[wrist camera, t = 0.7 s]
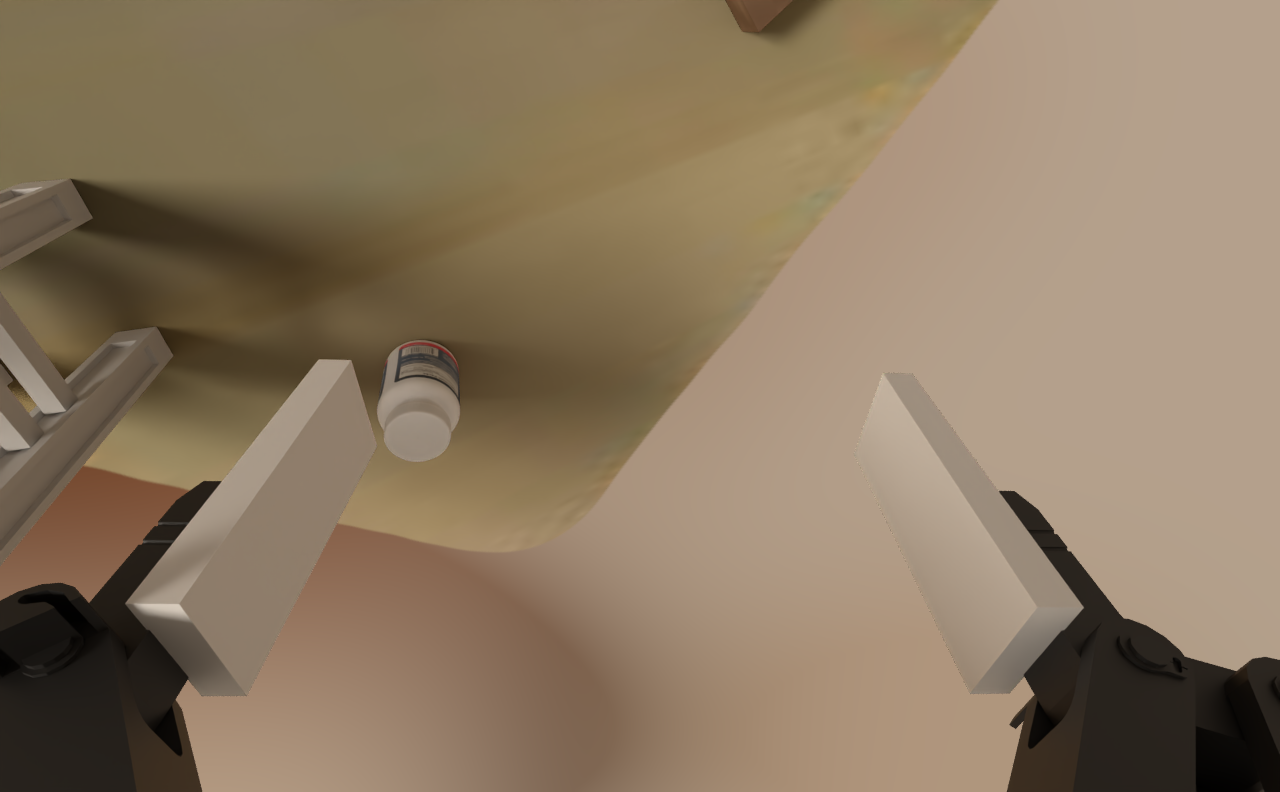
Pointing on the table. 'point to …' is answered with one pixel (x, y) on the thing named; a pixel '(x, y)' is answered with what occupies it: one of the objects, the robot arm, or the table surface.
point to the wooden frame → (755, 12)
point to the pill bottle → (419, 400)
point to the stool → (56, 373)
